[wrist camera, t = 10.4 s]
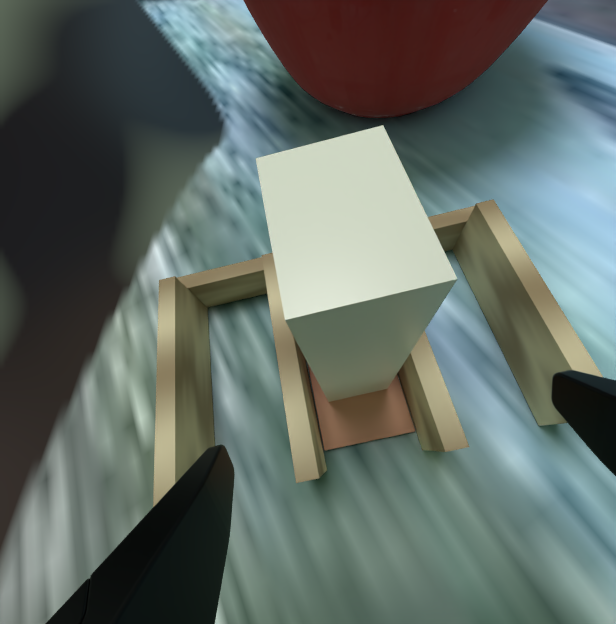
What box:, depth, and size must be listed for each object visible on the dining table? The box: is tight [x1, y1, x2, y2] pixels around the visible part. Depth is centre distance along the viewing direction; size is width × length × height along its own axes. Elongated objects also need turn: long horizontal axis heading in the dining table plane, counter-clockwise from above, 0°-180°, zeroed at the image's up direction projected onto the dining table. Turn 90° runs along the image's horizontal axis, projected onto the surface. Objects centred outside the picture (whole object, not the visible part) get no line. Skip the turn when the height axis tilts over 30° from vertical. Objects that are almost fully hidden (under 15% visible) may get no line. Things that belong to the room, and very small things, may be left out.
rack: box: [153, 199, 603, 507], centre depth 17 cm, size 13×20×6 cm, turn 101°
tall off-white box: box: [256, 125, 457, 402], centre depth 13 cm, size 5×4×13 cm
